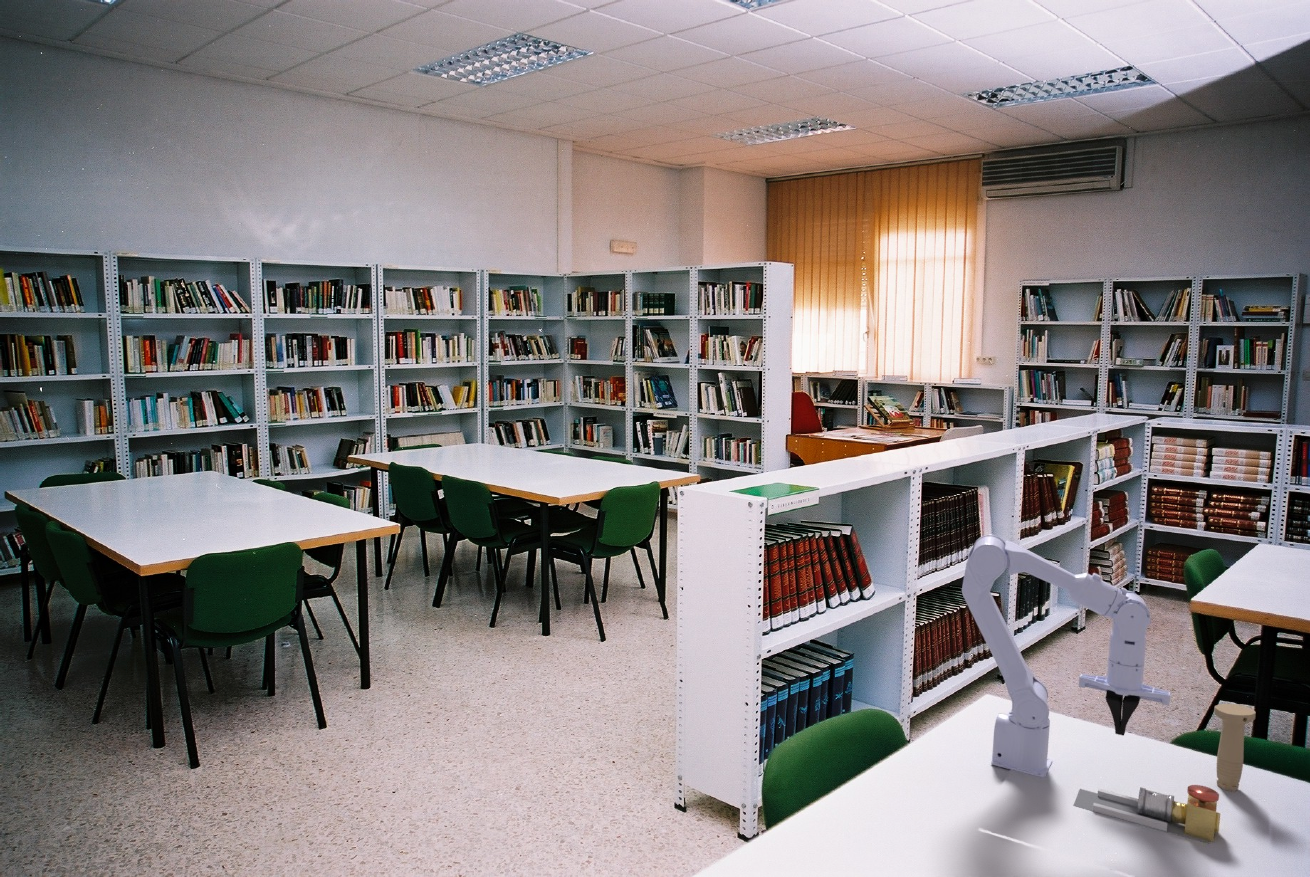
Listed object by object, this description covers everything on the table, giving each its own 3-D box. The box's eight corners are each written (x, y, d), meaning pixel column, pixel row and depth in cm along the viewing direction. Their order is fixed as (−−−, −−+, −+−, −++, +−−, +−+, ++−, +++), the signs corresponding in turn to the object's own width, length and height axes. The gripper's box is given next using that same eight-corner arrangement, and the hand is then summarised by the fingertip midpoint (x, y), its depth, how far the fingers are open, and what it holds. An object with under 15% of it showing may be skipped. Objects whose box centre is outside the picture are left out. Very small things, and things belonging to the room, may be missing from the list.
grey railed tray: (1073, 807, 154) (1073, 799, 154) (1079, 790, 160) (1080, 783, 159) (1209, 845, 143) (1209, 837, 143) (1210, 826, 149) (1211, 818, 148)
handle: (1253, 794, 159) (1262, 714, 157) (1221, 796, 158) (1228, 715, 157) (1233, 781, 164) (1240, 703, 162) (1201, 782, 163) (1208, 704, 161)
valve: (1170, 829, 146) (1173, 790, 146) (1172, 816, 151) (1176, 778, 150) (1217, 843, 143) (1221, 803, 142) (1218, 828, 147) (1222, 789, 146)
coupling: (1136, 814, 150) (1139, 788, 150) (1138, 811, 153) (1141, 785, 154) (1170, 824, 147) (1173, 797, 147) (1172, 820, 150) (1174, 794, 151)
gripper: (1078, 658, 161) (1073, 730, 163) (1170, 676, 153) (1164, 751, 155) (1084, 647, 167) (1079, 716, 168) (1173, 664, 159) (1167, 737, 160)
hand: (1120, 732), depth 162 cm, fingers closed
